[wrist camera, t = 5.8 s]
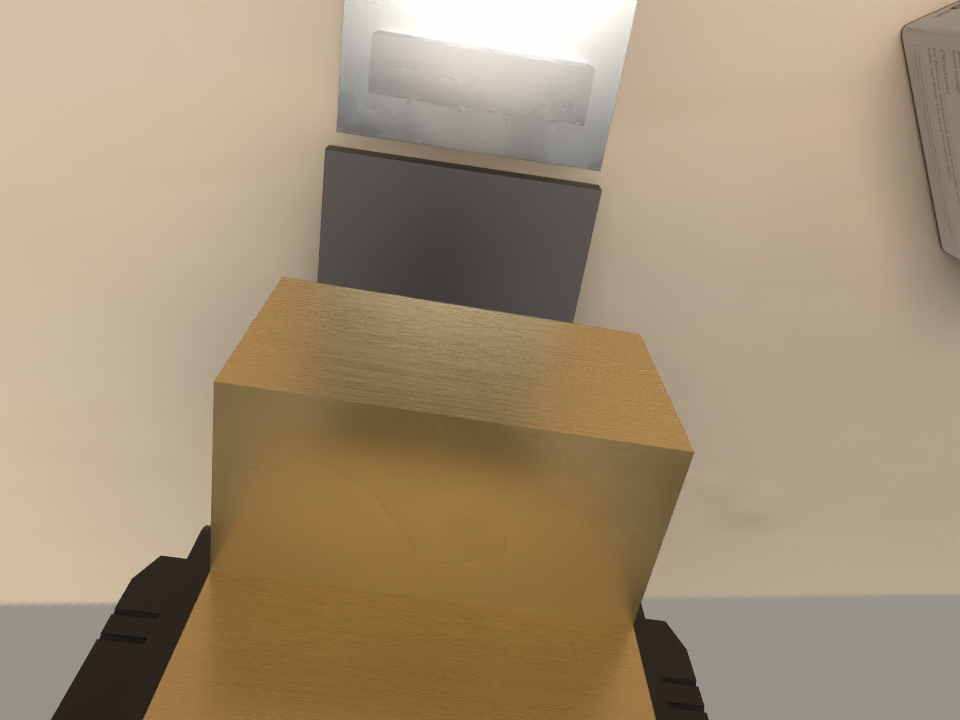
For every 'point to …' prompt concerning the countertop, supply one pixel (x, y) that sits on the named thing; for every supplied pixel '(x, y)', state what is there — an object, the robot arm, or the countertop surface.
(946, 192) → the supplement box
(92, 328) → the countertop surface
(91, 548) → the countertop surface
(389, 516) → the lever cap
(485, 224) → the rubber mat
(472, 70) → the grey block holder tray
